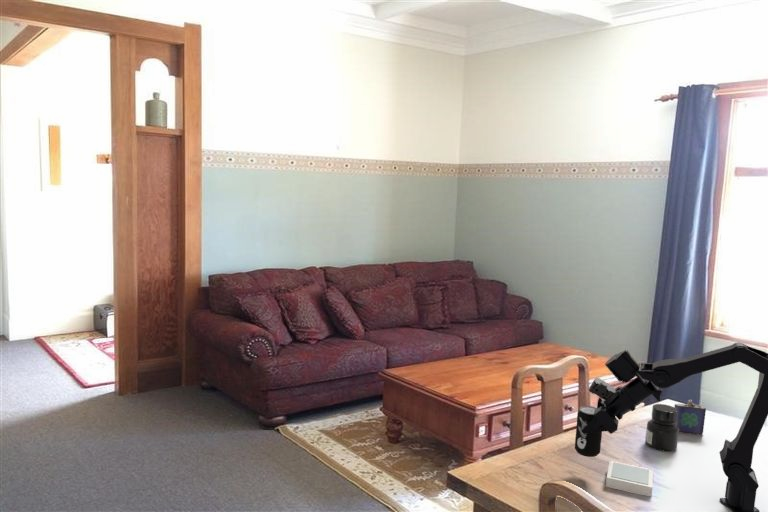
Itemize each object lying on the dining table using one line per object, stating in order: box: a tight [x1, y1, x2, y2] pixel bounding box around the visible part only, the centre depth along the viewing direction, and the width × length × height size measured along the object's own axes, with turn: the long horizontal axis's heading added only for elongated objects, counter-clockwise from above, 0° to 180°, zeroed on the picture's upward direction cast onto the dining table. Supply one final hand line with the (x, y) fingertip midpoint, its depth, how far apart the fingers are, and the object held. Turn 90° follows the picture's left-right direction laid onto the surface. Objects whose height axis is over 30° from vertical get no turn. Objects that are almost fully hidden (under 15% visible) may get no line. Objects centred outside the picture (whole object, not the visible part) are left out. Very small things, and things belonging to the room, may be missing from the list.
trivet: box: [605, 460, 654, 498], centre depth 168 cm, size 11×11×3 cm
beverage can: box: [574, 405, 603, 458], centre depth 171 cm, size 7×7×12 cm
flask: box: [673, 399, 707, 436], centre depth 204 cm, size 9×3×11 cm, turn 76°
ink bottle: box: [644, 403, 679, 453], centre depth 192 cm, size 10×9×12 cm
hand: (583, 427), depth 171 cm, fingers closed on beverage can, 6 cm apart
